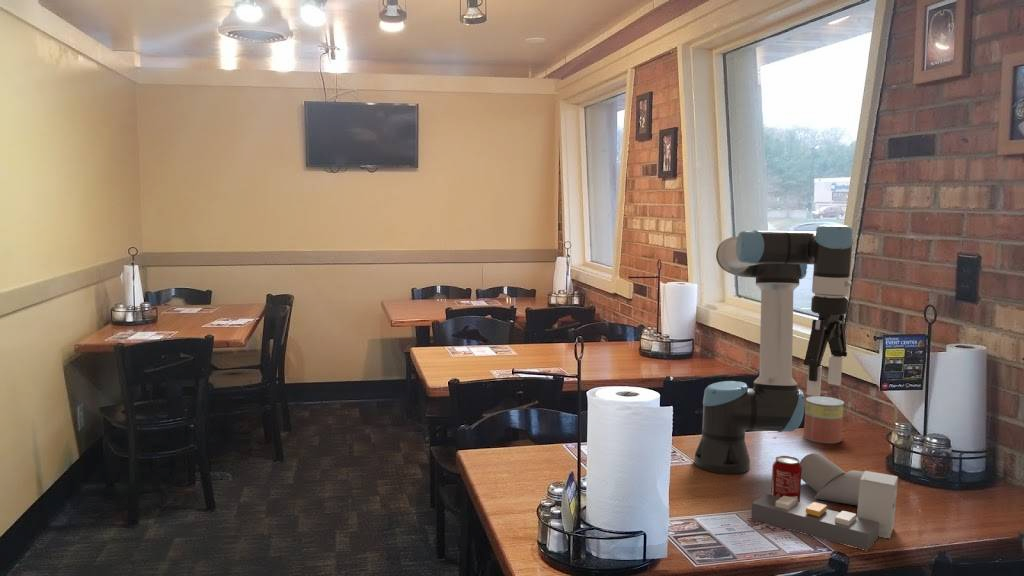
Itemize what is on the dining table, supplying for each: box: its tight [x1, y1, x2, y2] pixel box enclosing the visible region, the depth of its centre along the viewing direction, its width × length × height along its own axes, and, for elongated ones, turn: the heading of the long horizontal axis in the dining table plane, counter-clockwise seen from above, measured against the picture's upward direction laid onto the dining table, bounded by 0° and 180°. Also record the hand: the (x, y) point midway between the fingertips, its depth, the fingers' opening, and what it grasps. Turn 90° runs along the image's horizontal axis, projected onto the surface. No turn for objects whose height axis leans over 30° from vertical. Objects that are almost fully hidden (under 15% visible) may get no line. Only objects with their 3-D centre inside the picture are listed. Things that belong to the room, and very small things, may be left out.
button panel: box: [750, 493, 879, 551], centre depth 186 cm, size 26×8×5 cm, turn 50°
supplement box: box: [856, 470, 899, 540], centre depth 185 cm, size 7×7×13 cm
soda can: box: [770, 455, 802, 502], centre depth 199 cm, size 7×7×12 cm
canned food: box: [802, 395, 845, 444], centre depth 256 cm, size 11×11×12 cm
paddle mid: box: [806, 501, 828, 517], centre depth 185 cm, size 3×5×1 cm, turn 141°
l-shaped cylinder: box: [799, 452, 864, 507], centre depth 207 cm, size 18×11×20 cm
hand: (824, 389), depth 182 cm, fingers open, 13 cm apart
